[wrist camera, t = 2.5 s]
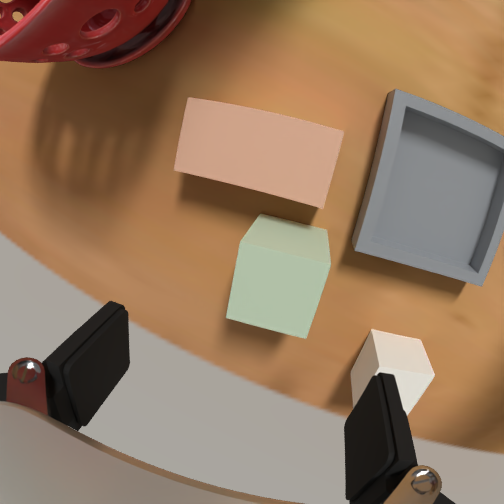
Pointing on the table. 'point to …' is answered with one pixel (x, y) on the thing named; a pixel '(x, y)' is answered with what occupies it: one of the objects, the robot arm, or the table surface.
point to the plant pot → (86, 30)
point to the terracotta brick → (258, 150)
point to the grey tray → (433, 191)
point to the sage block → (279, 275)
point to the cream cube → (393, 366)
